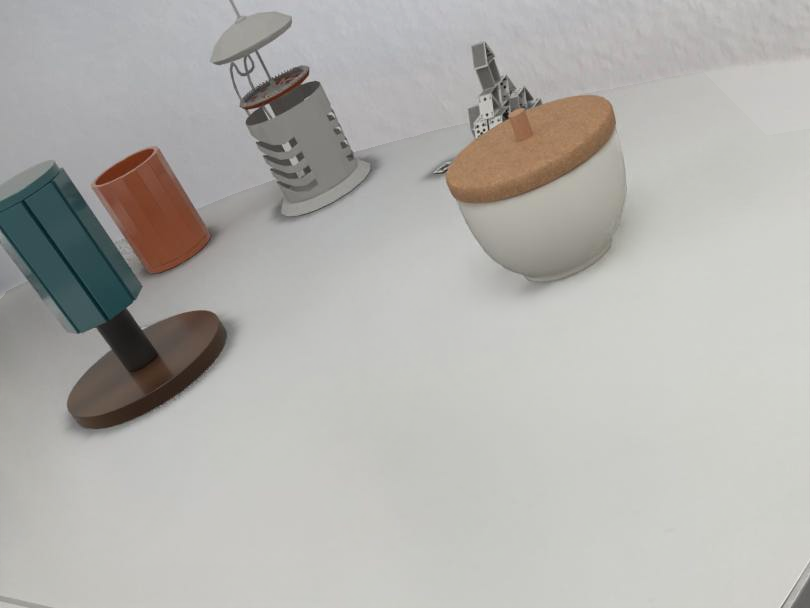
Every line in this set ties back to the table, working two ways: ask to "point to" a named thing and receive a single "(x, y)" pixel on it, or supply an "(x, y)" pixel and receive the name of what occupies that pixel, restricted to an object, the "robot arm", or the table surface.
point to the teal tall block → (64, 249)
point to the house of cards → (493, 95)
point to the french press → (291, 120)
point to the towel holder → (145, 366)
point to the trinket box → (544, 187)
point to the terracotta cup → (151, 210)
